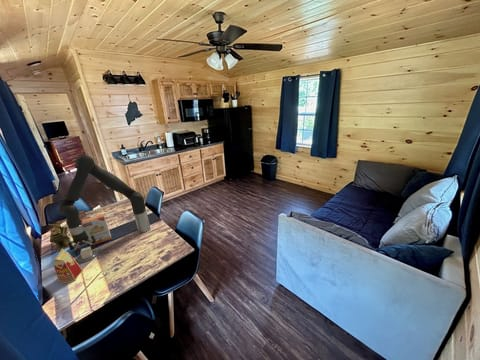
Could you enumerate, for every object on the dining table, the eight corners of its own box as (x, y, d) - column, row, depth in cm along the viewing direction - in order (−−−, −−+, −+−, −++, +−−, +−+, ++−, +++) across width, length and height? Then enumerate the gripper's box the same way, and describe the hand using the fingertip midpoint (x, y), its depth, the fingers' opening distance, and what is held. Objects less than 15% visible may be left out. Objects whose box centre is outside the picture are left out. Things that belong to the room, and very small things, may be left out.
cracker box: (90, 246, 151) (81, 223, 143) (90, 242, 156) (81, 219, 148) (111, 239, 158) (104, 216, 150) (111, 235, 163) (103, 213, 155)
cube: (92, 252, 144) (90, 246, 143) (91, 256, 140) (89, 250, 138) (83, 254, 142) (81, 249, 140) (82, 259, 138) (80, 253, 136)
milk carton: (68, 272, 129) (56, 247, 121) (83, 270, 129) (72, 245, 122) (57, 284, 120) (44, 258, 113) (74, 282, 121) (61, 256, 113)
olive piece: (56, 241, 159) (46, 220, 151) (71, 236, 164) (62, 215, 157) (54, 255, 144) (42, 232, 136) (71, 249, 149) (61, 227, 142)
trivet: (98, 248, 149) (98, 247, 149) (97, 258, 139) (96, 257, 139) (78, 254, 144) (78, 253, 144) (75, 265, 134) (75, 264, 134)
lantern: (92, 218, 170) (81, 208, 188) (79, 223, 164) (68, 212, 181) (96, 227, 174) (84, 217, 192) (83, 233, 167) (72, 222, 185)
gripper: (91, 225, 140) (98, 243, 146) (65, 232, 133) (74, 251, 140) (89, 230, 134) (97, 249, 140) (62, 238, 127) (72, 258, 133)
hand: (86, 250), depth 140 cm, fingers open, 8 cm apart
